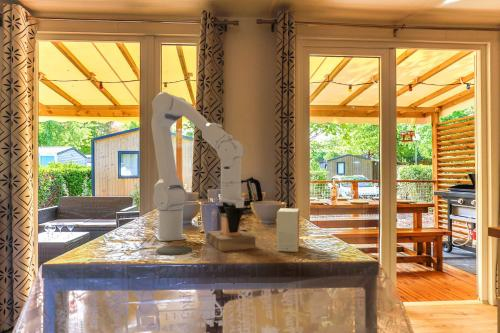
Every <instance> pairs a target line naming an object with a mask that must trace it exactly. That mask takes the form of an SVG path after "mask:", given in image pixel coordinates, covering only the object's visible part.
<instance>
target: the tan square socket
mask: <svg viewBox="0 0 500 333" xmlns="http://www.w3.org/2000/svg"><path fill="white" fill-rule="evenodd" d="M206 236H207V238H206V239H207V240H206V242H207V243H208V244H210V245H211V246H212V247H214V248H215V249H217V250H219V251H220V252H226V251H236V250H237V251H238V250H245V249H256V236H255V235H252V234H250V233H248V232H246V231H243V230H241V229H240V235H237V236H223V235H222V230H215V231H214V230H213V231H207V234H206Z"/></svg>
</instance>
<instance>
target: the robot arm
mask: <svg viewBox="0 0 500 333" xmlns="http://www.w3.org/2000/svg"><path fill="white" fill-rule="evenodd" d="M151 108H152V115H151V122H150V123H151V124H150V125H151V132H152V139H153V144H154V145H153V147H154V151H155V159H156V167H157V171H158V172H157V173H158V180H157V182H156V183H155V184H154V185H153V187H154V193H153V203H154V205H155V207H156V208H157V209H156V210H157V211H158V216H157V233H156V234H155V233H154V237H155V238H156V239H157V240H158V242H168V241H169V242H170V241H182V240H186V239H187V237H186V236H185V235H183V225H184V224H183V222H184V221H183V220H184V219H183V217H184V214H183V212H184V208H185V207H184V205H186V203H187V202H188V192H187V191H186V189H185V186H184V182H183V181H182V180H181V179H180V178H179V177H178V173H177V172H178V171H177V166H176V160H175V159H176V158H175V151H174V146H173V140H172V139H173V138H172V132H171V127H173V125H174V124H175V123H176V122H178V121H180V119H182V118H183V117H184V118H185V119H186V120H188V121H189V122H190V123H191V124H193V126H195V127H196V128H198V129H199V130H200V131H201V137H202V139H203V140H204V141H205V142H207V144H208V145H210V146H211V147H212V148H213V149H214V150H215V151H216V153H217V156H218V158H219V159H220V195H219V199H218V200H219V201H218V203H219V202H220V203H219V204H221V205H222V204H223V205H222V206H216V207H218V208H217V210H218V209H219V210H218V213H219V214H220V217H221V219H222V216H221V213H226V214H227V218H228V226H229V231H230V233H234V232H237V231H238V228H239V223H240V224H241V219H242V217H243V214H244V213H245V211H246V207H245V200H246V198H244V197H242V158H243V157H244V155H245V147H244V145H243V143H242V142H241V141H239V140H234V136H233V135H232V134H228V133H227V131H225V130H224V129H222V128H223V125H222V124H220V123H216V122H209V121H208V120H207V119H206V118H205V117H204V116H203V115H202V114H201V113H200V112H199V111H198V110H197V109H196V108H195V107H194V106H193V105H192V103H191V102H189V101H187V100H186V99H185V98H183V97H181V96H180V97H179V96H177V95H173V94H170V93H168V92H166V91H161V92H159V93H157V94H156V95H155V97H154V99H153V100H152V101H151Z"/></svg>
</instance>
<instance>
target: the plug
mask: <svg viewBox="0 0 500 333" xmlns="http://www.w3.org/2000/svg"><path fill="white" fill-rule="evenodd" d="M221 216H222V218H221V231H222V235H223V236H237V235H240V230H241V222H240V223H239V228H238V231H237V232H234V233H230V231H229V226H228V218H227V214H226V213H221V214H220V217H221Z"/></svg>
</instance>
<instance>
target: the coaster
mask: <svg viewBox="0 0 500 333" xmlns="http://www.w3.org/2000/svg"><path fill="white" fill-rule="evenodd" d="M155 251H156V253H157V254H158V255H162V256H178V255H185V254H188V253H191V252H192V247H191V246H190V245H189V246H188V245H180V244H179V245H173V244H172V245H165V246H161V247H159V248H156V249H155Z"/></svg>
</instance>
